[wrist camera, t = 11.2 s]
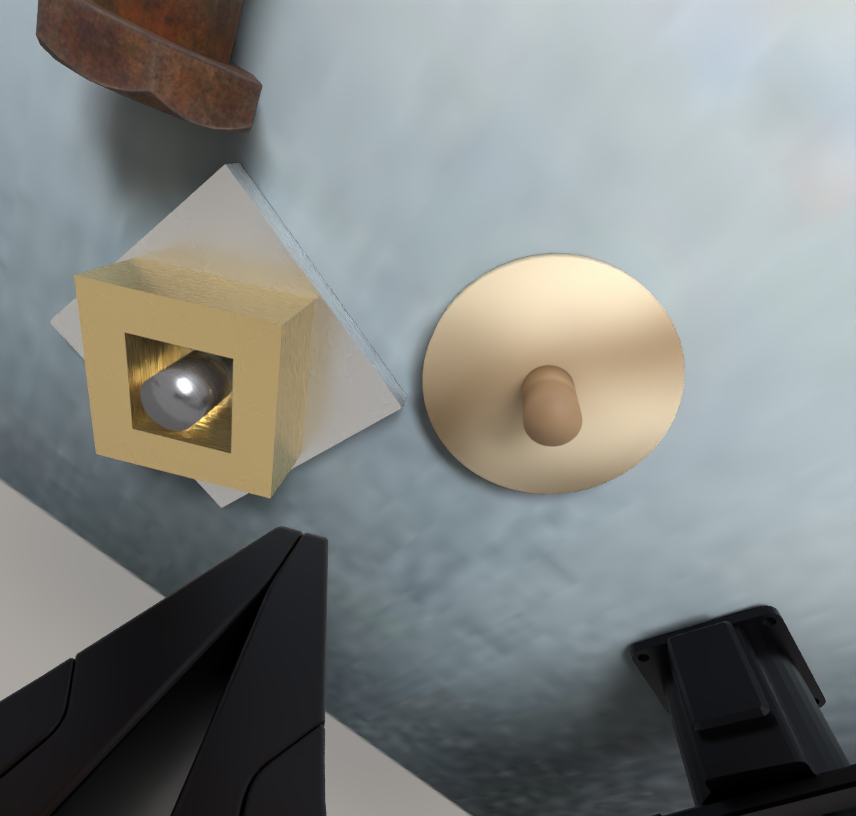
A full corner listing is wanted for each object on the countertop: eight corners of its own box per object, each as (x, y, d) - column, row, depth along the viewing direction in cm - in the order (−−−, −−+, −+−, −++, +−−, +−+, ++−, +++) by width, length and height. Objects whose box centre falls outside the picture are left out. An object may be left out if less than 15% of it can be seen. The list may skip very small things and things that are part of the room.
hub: (407, 396, 21) (381, 456, 17) (232, 494, 24) (176, 563, 20) (239, 163, 18) (159, 167, 14) (68, 314, 21) (-35, 352, 17)
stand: (717, 418, 19) (756, 470, 16) (502, 510, 22) (500, 569, 19) (606, 197, 16) (627, 208, 13) (380, 338, 20) (355, 373, 17)
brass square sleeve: (300, 454, 21) (270, 498, 19) (147, 416, 22) (96, 454, 19) (315, 299, 18) (281, 324, 16) (137, 256, 19) (74, 274, 16)
